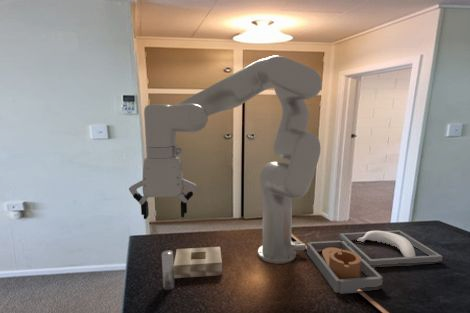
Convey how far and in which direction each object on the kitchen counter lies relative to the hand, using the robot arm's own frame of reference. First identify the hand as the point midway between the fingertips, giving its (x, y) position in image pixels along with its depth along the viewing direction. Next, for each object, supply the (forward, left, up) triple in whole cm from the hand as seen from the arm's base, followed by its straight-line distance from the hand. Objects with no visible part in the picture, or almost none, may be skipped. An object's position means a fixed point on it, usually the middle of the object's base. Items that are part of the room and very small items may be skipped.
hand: (164, 216), depth 76 cm
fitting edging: (-51, -3, -20) cm, 55 cm away
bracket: (-51, -3, -21) cm, 55 cm away
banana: (-72, -12, -20) cm, 76 cm away
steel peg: (0, 0, -20) cm, 20 cm away
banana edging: (-72, -12, -20) cm, 76 cm away
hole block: (-8, -9, -20) cm, 24 cm away
